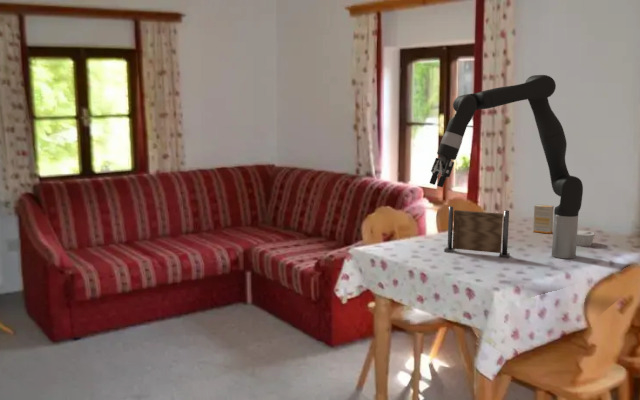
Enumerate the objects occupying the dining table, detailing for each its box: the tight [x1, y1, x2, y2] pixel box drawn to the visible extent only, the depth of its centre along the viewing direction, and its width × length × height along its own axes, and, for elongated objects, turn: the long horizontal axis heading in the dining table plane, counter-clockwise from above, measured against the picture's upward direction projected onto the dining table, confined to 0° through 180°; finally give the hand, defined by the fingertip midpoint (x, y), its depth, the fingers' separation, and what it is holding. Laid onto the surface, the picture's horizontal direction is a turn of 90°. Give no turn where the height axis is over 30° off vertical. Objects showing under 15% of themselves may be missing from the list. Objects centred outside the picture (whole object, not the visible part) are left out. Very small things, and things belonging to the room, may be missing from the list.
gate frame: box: [443, 206, 511, 259], centre depth 274 cm, size 26×4×19 cm, turn 67°
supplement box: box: [532, 203, 555, 235], centre depth 318 cm, size 8×5×13 cm, turn 57°
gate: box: [452, 209, 504, 254], centre depth 274 cm, size 19×2×16 cm, turn 67°
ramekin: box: [576, 229, 596, 247], centre depth 294 cm, size 11×11×5 cm
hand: (435, 185), depth 256 cm, fingers open, 8 cm apart
